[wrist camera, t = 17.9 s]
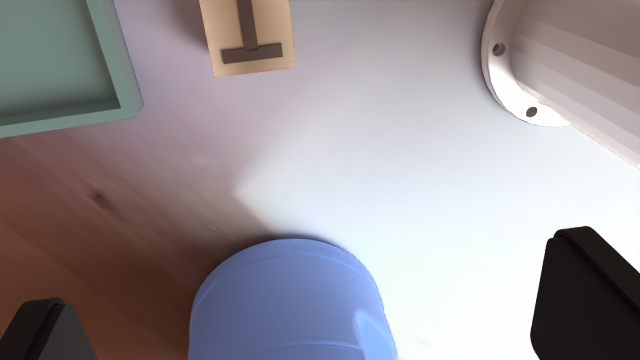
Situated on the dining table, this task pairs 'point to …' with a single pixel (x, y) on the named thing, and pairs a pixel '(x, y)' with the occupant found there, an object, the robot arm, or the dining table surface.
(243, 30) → the letter cube
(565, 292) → the robot arm
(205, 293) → the water jug
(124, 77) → the green tray
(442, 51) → the dining table surface
